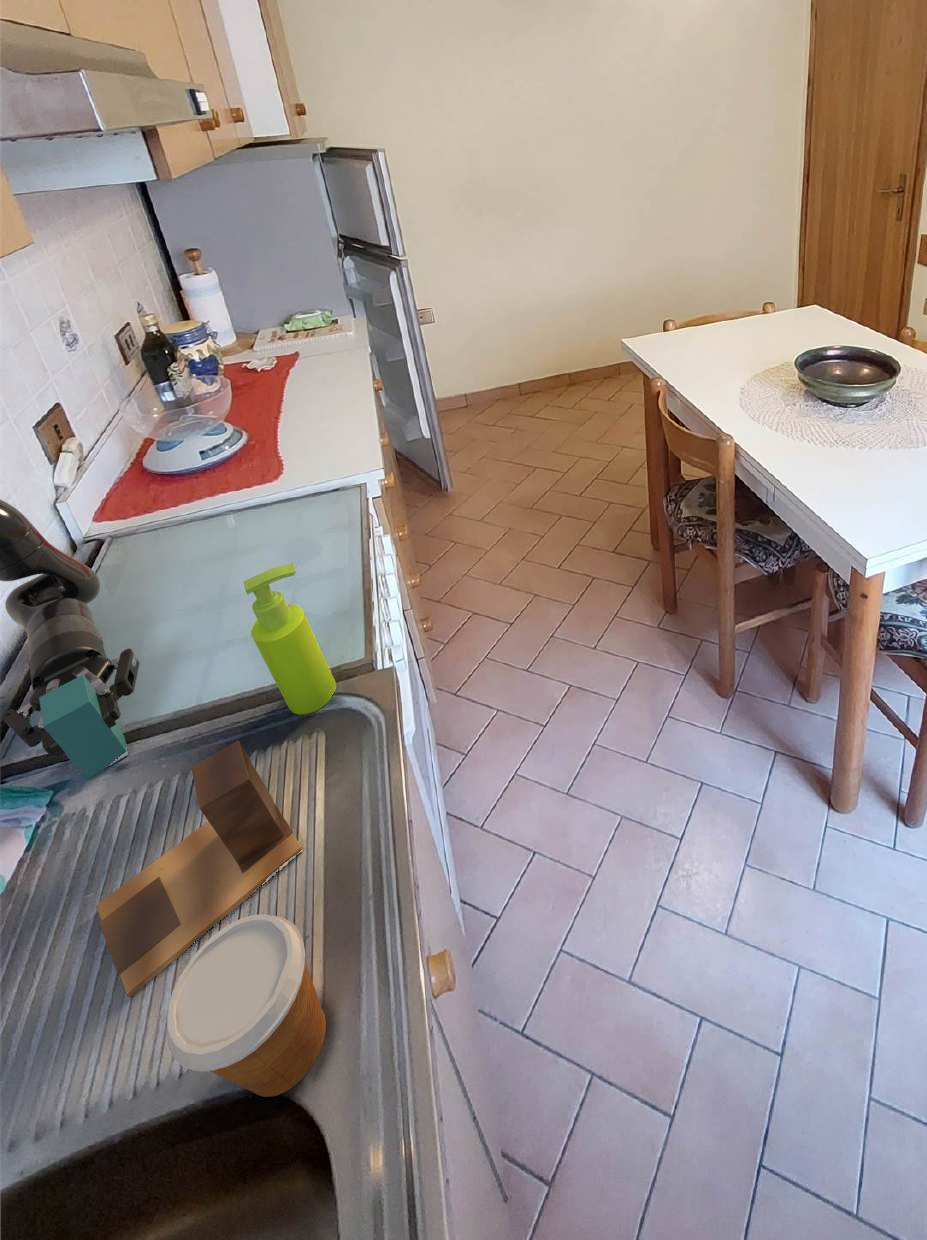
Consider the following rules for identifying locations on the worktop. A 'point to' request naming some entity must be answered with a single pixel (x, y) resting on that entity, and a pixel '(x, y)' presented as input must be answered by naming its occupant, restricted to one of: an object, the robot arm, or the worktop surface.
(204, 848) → the word board
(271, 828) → the brown wooden block
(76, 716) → the tall teal prism
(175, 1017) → the disposable coffee cup
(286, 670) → the soap dispenser
